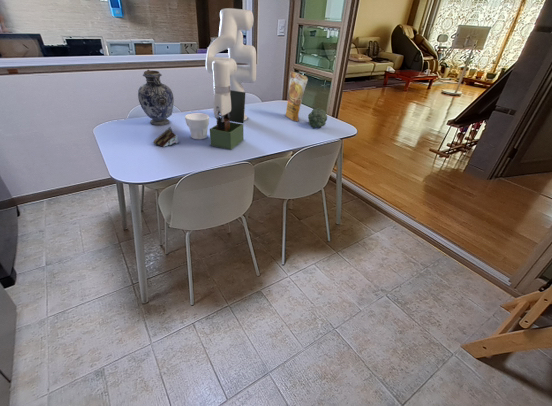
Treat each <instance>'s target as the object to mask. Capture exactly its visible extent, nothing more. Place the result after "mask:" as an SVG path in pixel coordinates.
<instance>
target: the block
mask: <svg viewBox="0 0 552 406" xmlns="http://www.w3.org/2000/svg"><path fill="white" fill-rule="evenodd" d="M223 122H224V130H222V129H218V121H217V120H216V125H217V130H220V131H227V130H229V129H230V122H231V121H230V120H229V119H224V117H223Z"/></svg>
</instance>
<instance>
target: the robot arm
mask: <svg viewBox="0 0 552 406" xmlns="http://www.w3.org/2000/svg"><path fill="white" fill-rule="evenodd" d="M219 18H220V21H219V28H218V29H219V30H218V37H216V38H215V39H214V40H213V41H212V42H210V44H209V46H208V47H207V50H206V56H205V69H206V72H207V73H208V74H210V75H213V76H212V78H213V81H212V82H213V101H212V102H213V103H212V107H213V108H212V109H213V110H212V111H213V115H214V118H215V119H216V122H217V121H218V129H222V130H224V122H223V118H224V117H225V118H224V119H229V118H230V112H231V96H230V90H233V91H239V92H245V88H244V86H243V85H242V84H254V83H256V81H257V50H256V47H255V46H254V45H251V44H244V34H243V32H242V31H244V32H245V31H246V32H248V31H250V30H251V29H252V28H253V26H254V20H255V18H254V14H253V12H252V10H251V9H241V8H231V7H229V8H222V9H221V10H220V12H219ZM226 50H228V51H227V54H228V57H221V56H216V55H217V54H219V53H221V52H224V51H226ZM243 64H244V65H243ZM245 64H246V65H245ZM245 93H246V92H245ZM245 113H246V108H245V109H244V121H246V120H247V119H248V115H246V114H245ZM229 120H230V119H229Z"/></svg>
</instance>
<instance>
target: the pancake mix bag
mask: <svg viewBox="0 0 552 406" xmlns="http://www.w3.org/2000/svg"><path fill="white" fill-rule="evenodd" d="M308 81H309V78H308V76H307V75H304V74H301V73H299V72H296V71H293V70H291V71H289V80H288V91H287V102H286V110H285V111H286V113H285V116H286V118H288V119H289V120H291V121H293V122H299V114H300V110H301V105H302V101H303V98H304V96H305V91H306V87H307V85H308Z"/></svg>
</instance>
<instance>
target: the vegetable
mask: <svg viewBox="0 0 552 406" xmlns="http://www.w3.org/2000/svg"><path fill="white" fill-rule="evenodd" d="M307 118H308V125H309V126H310V127H311V128H313V129H316V128H319V129H321V128H322V127H324V126H326V124H327V120H328V116H327V111H326V110H324V109H322V108H319V107H314V108H313V109H312V110H311V112H309V114H308V117H307Z"/></svg>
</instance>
